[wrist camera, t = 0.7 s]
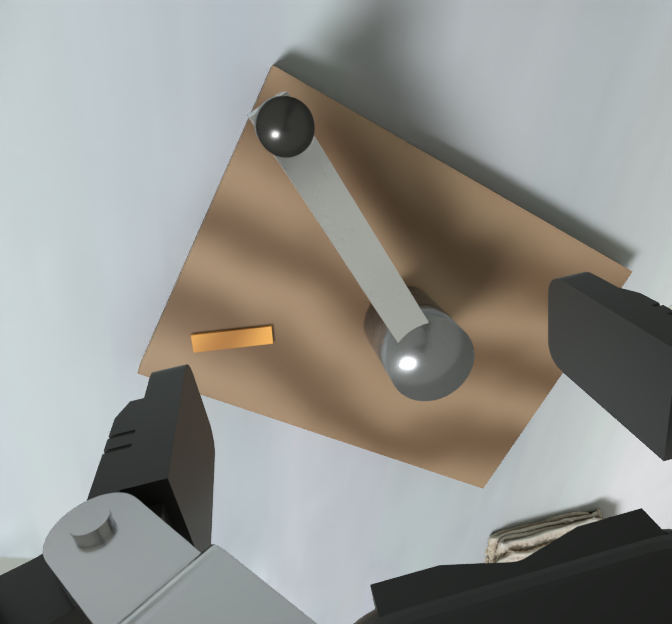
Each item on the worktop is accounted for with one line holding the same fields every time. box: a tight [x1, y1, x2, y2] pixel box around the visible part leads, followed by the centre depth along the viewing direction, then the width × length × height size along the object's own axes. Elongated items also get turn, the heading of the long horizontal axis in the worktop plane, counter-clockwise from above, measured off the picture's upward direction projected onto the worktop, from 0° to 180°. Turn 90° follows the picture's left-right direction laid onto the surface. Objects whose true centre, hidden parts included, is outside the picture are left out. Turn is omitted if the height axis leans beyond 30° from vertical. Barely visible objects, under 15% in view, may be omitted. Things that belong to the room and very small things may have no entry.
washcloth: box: [485, 508, 602, 563], centre depth 50 cm, size 12×18×3 cm, turn 8°
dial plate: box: [138, 65, 632, 488], centre depth 36 cm, size 20×28×2 cm
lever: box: [247, 91, 474, 401], centre depth 29 cm, size 19×5×8 cm, turn 32°
